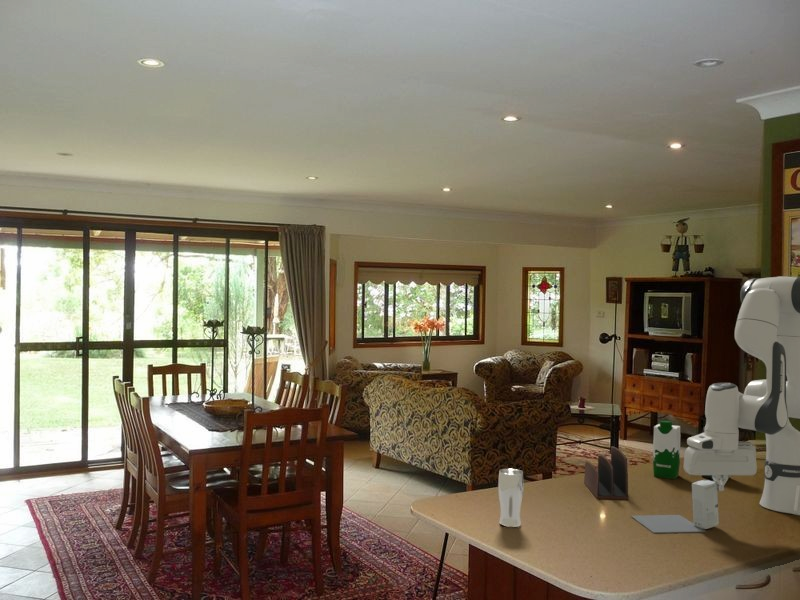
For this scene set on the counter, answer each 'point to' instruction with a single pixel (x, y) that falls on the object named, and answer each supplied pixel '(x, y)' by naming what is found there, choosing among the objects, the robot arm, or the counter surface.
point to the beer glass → (510, 496)
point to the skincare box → (705, 504)
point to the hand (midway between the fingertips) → (719, 490)
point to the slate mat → (667, 524)
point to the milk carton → (666, 450)
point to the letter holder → (608, 476)
